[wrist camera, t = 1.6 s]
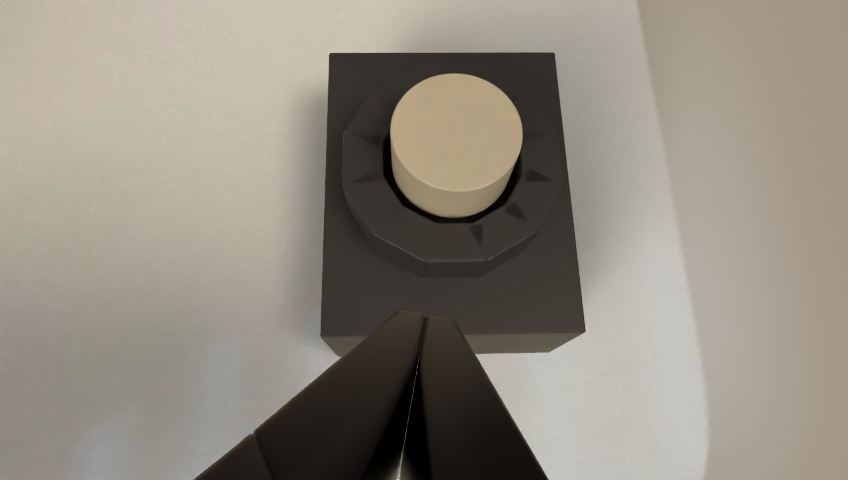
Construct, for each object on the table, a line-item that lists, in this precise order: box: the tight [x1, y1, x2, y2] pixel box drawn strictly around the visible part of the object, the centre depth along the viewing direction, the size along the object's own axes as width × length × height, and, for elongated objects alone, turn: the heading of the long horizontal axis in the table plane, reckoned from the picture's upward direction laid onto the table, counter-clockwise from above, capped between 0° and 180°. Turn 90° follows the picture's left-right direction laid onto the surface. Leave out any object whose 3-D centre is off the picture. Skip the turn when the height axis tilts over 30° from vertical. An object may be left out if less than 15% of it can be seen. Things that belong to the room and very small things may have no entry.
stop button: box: [390, 73, 523, 218], centre depth 17 cm, size 4×4×2 cm
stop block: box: [320, 53, 585, 357], centre depth 20 cm, size 10×8×6 cm
